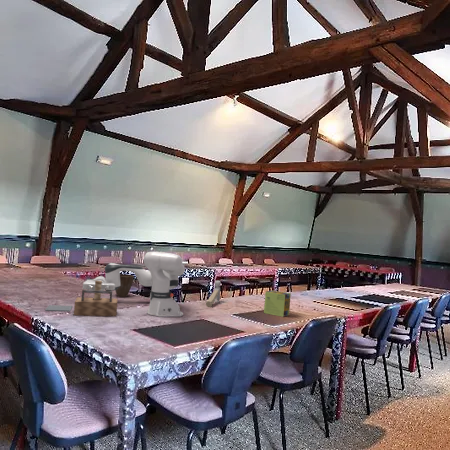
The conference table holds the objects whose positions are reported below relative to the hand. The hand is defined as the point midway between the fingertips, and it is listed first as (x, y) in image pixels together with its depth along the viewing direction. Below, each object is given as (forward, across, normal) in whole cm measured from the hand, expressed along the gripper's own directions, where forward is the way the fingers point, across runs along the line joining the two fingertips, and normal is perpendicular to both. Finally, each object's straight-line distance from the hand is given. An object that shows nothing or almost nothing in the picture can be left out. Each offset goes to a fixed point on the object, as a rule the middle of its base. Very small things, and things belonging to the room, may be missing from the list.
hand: (98, 288), depth 269 cm
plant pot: (-47, -16, -13) cm, 52 cm away
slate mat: (+4, +22, -13) cm, 26 cm away
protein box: (+1, -122, -13) cm, 123 cm away
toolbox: (+15, 0, -13) cm, 20 cm away
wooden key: (+12, 0, -9) cm, 15 cm away
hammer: (-29, -82, -13) cm, 88 cm away
